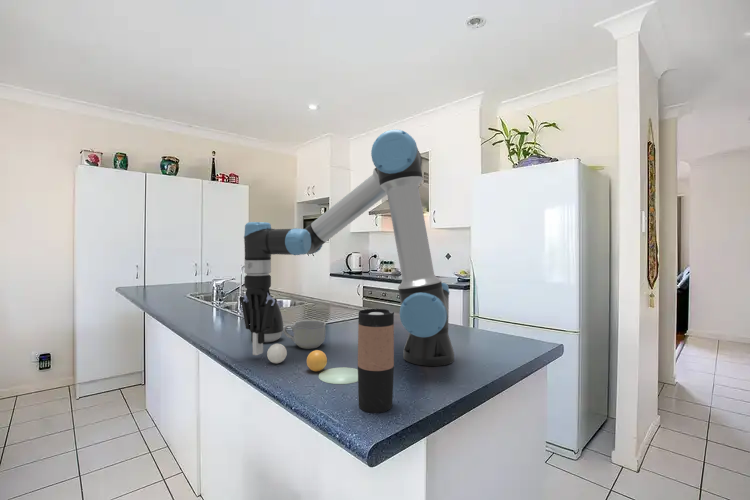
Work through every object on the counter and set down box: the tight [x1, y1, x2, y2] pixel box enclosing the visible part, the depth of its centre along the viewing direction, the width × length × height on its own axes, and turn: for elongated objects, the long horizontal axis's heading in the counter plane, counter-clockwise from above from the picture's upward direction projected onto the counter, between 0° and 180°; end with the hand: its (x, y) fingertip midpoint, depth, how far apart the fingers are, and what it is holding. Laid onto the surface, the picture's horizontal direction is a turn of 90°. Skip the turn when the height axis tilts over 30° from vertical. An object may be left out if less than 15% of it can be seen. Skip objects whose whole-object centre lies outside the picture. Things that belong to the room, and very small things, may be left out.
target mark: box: [318, 366, 358, 385], centre depth 97 cm, size 12×12×1 cm
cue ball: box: [266, 343, 288, 364], centre depth 107 cm, size 6×6×6 cm
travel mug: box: [357, 308, 395, 414], centre depth 79 cm, size 8×8×20 cm
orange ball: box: [306, 349, 328, 372], centre depth 101 cm, size 6×6×6 cm
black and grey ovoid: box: [264, 301, 285, 343], centre depth 132 cm, size 10×10×15 cm
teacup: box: [282, 319, 327, 350], centre depth 125 cm, size 14×11×8 cm
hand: (257, 353), depth 111 cm, fingers closed
